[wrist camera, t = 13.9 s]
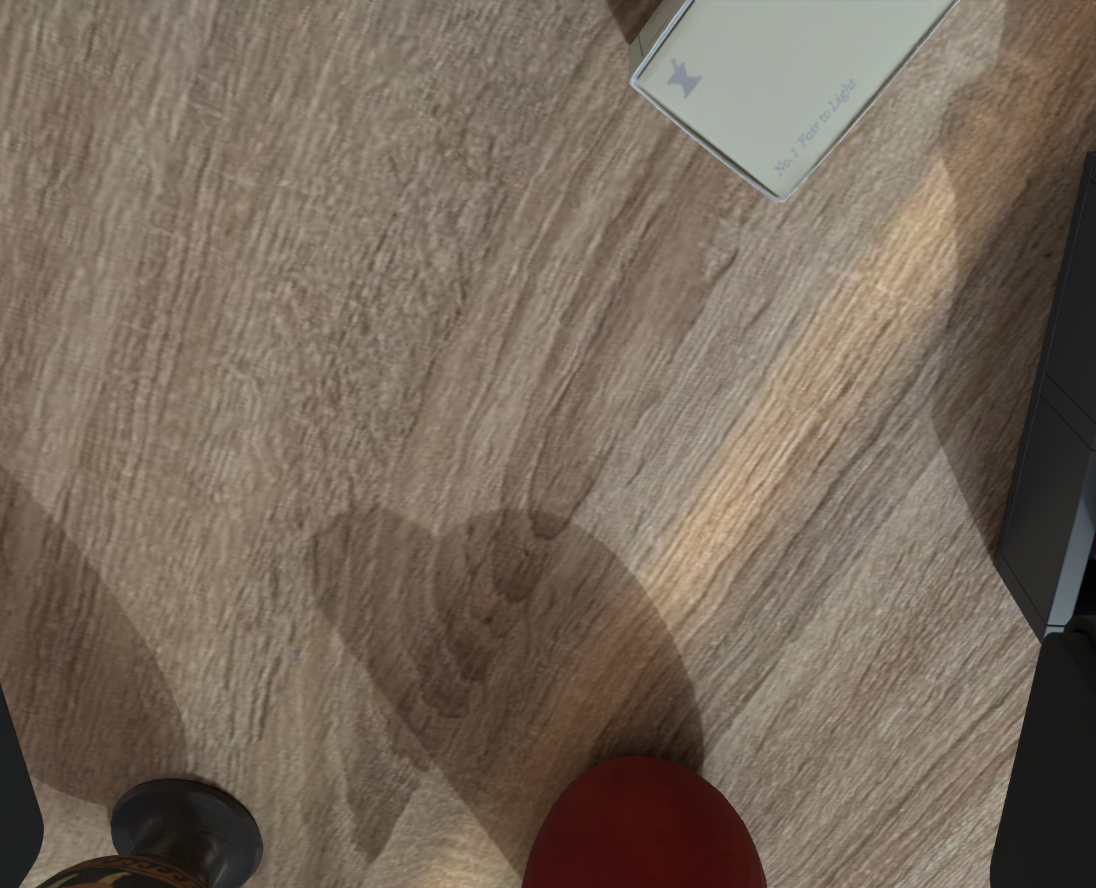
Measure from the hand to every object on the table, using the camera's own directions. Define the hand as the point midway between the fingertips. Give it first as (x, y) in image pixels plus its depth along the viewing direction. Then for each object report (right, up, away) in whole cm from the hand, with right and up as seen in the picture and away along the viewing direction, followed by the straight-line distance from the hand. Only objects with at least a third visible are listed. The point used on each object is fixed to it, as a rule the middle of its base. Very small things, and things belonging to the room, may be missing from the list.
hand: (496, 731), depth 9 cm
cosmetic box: (+6, +16, +22) cm, 28 cm away
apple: (+5, -13, +36) cm, 38 cm away
